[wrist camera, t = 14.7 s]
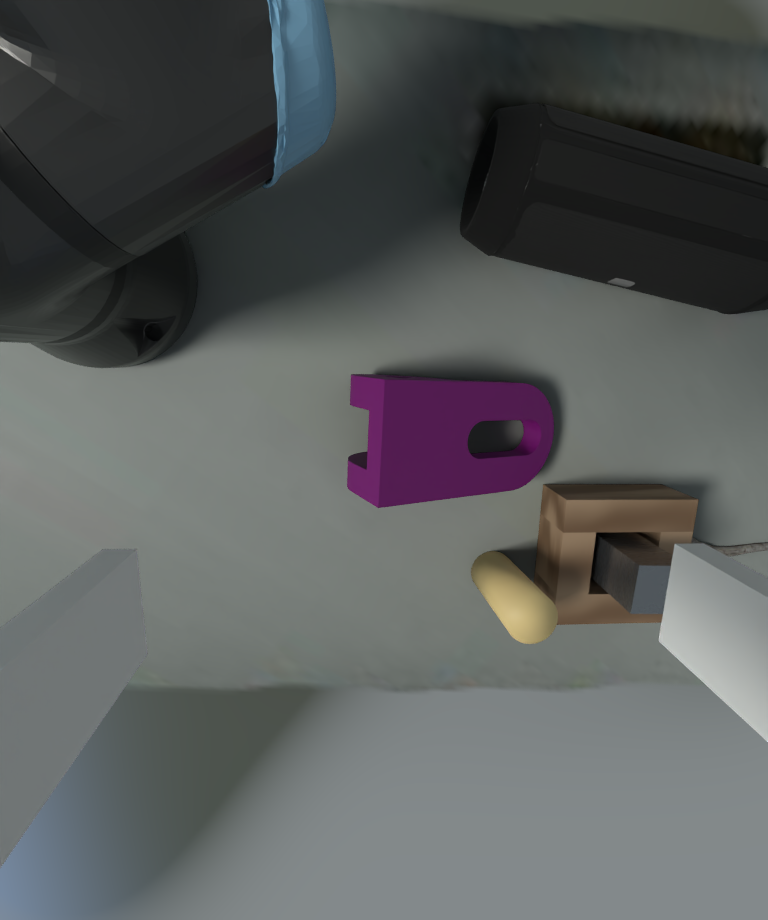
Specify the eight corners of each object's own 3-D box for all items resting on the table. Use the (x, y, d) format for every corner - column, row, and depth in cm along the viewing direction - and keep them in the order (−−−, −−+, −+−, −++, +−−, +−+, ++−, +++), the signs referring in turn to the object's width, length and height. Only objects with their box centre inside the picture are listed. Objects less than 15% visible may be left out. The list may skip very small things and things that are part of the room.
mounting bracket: (494, 378, 48) (335, 372, 39) (560, 384, 41) (384, 378, 32) (485, 466, 50) (332, 479, 41) (546, 486, 43) (377, 507, 34)
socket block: (543, 484, 45) (566, 500, 40) (661, 484, 45) (698, 499, 41) (532, 597, 47) (553, 624, 42) (644, 595, 48) (677, 622, 43)
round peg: (465, 560, 46) (499, 606, 36) (504, 544, 46) (548, 585, 36) (479, 597, 46) (516, 652, 37) (517, 581, 47) (564, 631, 37)
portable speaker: (448, 260, 40) (479, 228, 30) (476, 134, 38) (519, 56, 28) (713, 324, 43) (821, 315, 33) (752, 210, 41) (879, 163, 31)
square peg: (578, 521, 46) (639, 565, 36) (618, 522, 46) (690, 566, 36) (572, 560, 47) (630, 613, 37) (612, 560, 47) (680, 614, 37)
